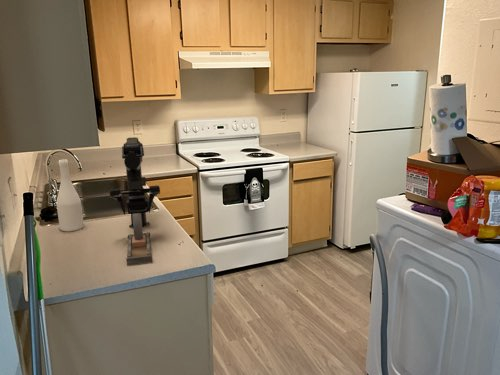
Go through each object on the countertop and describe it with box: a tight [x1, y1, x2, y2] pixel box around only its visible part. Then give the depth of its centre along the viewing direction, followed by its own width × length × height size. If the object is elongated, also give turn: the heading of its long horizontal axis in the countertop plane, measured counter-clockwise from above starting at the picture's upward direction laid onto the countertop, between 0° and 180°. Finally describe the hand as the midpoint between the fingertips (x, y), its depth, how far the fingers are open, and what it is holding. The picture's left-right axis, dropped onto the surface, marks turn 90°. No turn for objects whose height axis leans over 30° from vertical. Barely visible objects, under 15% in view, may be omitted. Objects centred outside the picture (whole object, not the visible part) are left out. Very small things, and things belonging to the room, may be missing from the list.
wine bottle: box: [56, 158, 85, 232], centre depth 172 cm, size 10×10×30 cm
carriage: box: [132, 213, 146, 248], centre depth 154 cm, size 7×5×12 cm
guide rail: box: [125, 232, 153, 266], centre depth 151 cm, size 23×8×3 cm, turn 15°
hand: (137, 213), depth 159 cm, fingers open, 9 cm apart
